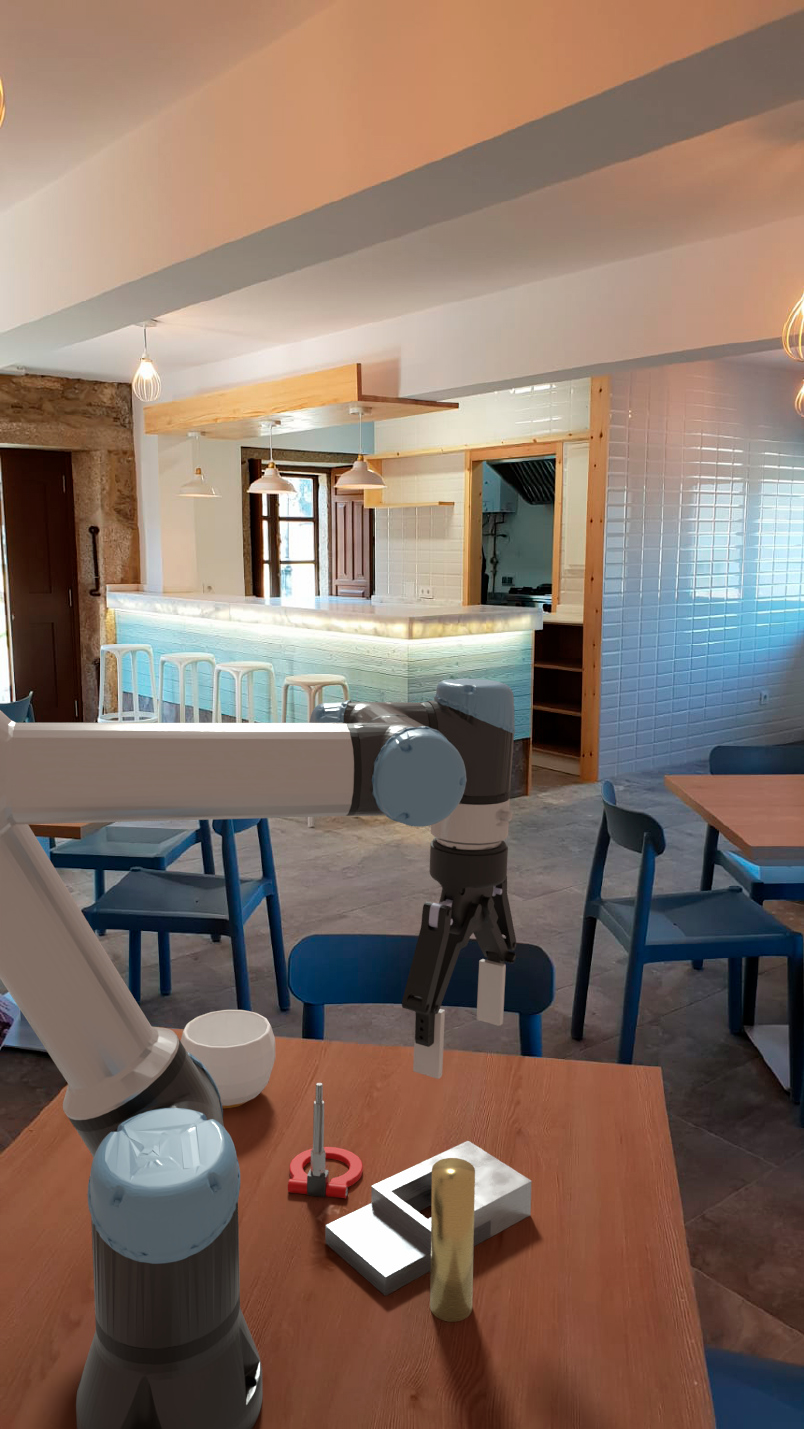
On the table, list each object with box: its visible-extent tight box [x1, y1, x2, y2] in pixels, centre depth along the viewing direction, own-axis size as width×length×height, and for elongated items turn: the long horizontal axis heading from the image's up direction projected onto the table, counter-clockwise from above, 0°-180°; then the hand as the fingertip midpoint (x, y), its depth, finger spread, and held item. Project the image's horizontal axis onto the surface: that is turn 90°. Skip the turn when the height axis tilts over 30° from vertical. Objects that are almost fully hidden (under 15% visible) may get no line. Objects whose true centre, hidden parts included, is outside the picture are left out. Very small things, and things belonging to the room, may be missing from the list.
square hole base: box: [324, 1140, 532, 1297], centre depth 110 cm, size 20×10×4 cm, turn 129°
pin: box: [429, 1158, 475, 1323], centre depth 98 cm, size 4×4×14 cm
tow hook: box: [287, 1082, 364, 1199], centre depth 119 cm, size 8×13×9 cm
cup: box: [180, 1009, 276, 1109], centre depth 136 cm, size 12×12×10 cm
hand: (460, 1046), depth 104 cm, fingers open, 13 cm apart
